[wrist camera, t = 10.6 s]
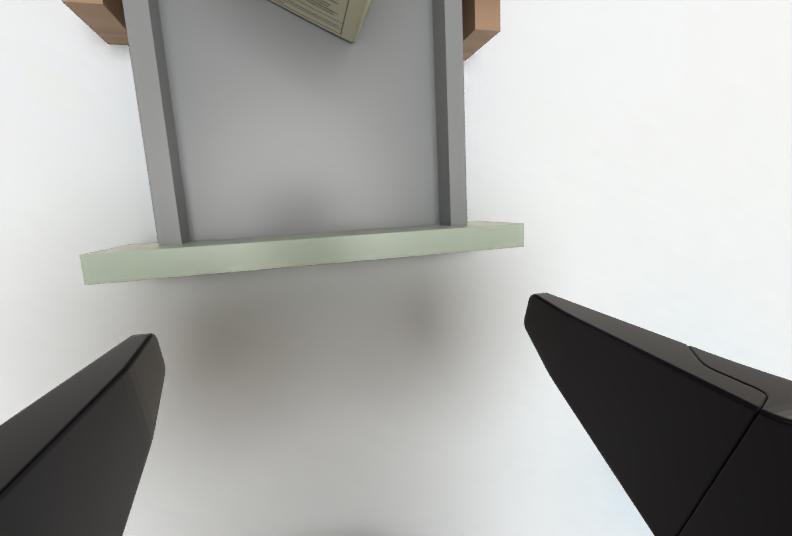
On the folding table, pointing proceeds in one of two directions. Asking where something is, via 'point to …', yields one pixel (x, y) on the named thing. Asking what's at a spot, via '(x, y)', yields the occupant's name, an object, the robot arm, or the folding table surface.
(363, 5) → the skincare box
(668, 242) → the folding table surface
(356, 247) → the tray
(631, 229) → the folding table surface
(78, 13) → the caddy
